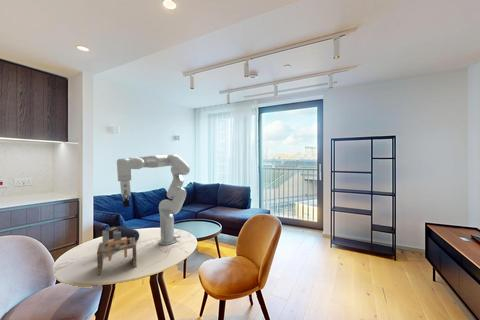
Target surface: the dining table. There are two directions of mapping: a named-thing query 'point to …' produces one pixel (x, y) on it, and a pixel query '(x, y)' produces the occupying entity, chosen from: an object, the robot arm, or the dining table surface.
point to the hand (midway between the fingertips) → (126, 205)
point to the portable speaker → (129, 233)
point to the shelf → (117, 247)
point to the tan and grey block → (117, 240)
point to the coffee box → (109, 236)
